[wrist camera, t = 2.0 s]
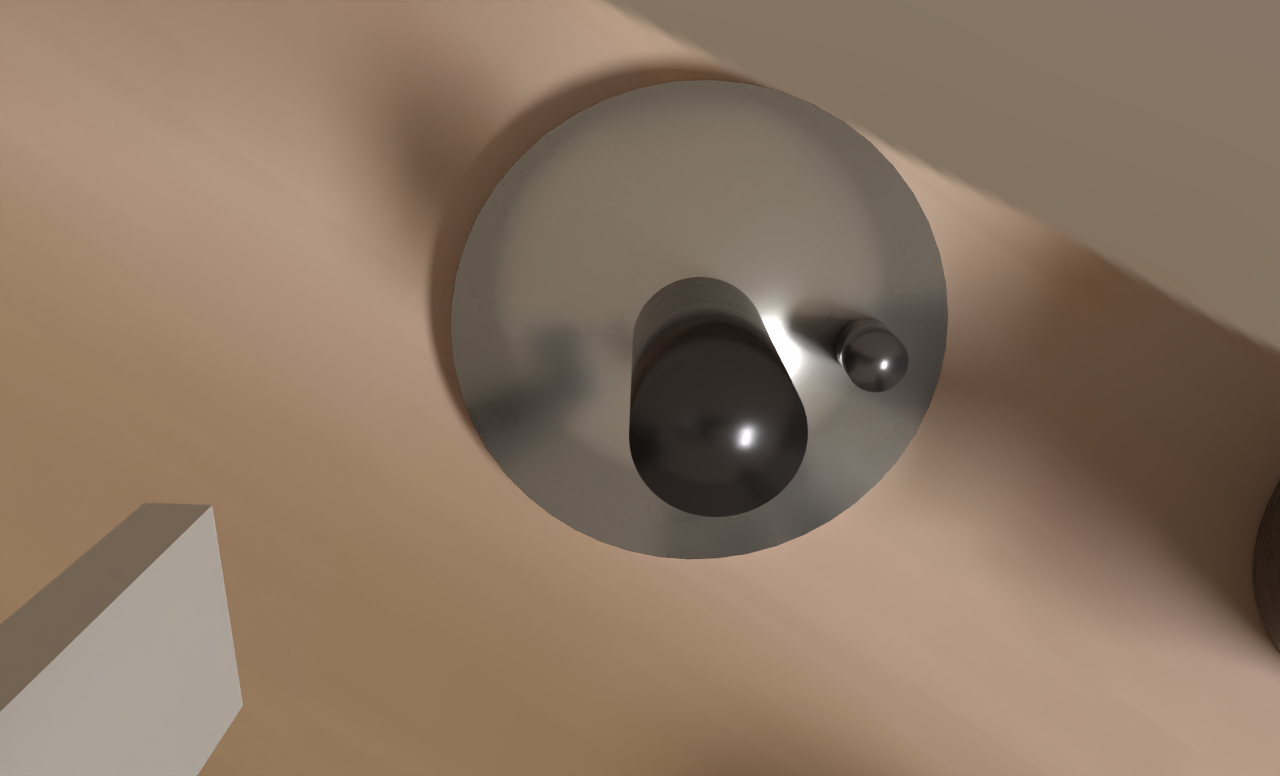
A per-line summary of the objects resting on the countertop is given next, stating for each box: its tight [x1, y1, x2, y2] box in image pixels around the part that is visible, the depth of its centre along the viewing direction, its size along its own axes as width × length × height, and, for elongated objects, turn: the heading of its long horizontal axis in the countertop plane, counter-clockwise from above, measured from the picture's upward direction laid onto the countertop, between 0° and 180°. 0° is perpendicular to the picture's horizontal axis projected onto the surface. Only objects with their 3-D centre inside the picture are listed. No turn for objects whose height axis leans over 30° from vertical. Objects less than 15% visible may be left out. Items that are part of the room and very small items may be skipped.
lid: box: [451, 80, 948, 559], centre depth 19 cm, size 12×12×7 cm
